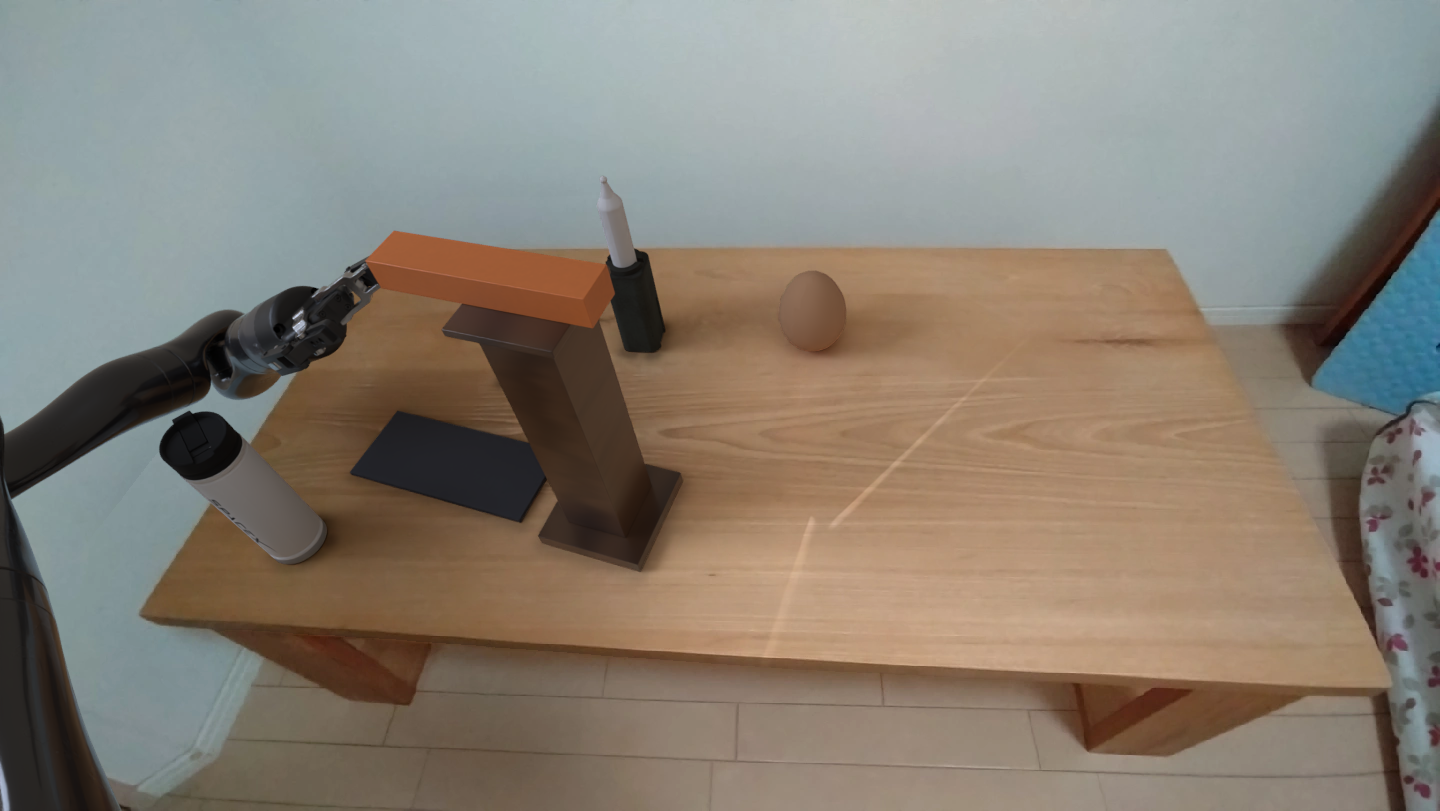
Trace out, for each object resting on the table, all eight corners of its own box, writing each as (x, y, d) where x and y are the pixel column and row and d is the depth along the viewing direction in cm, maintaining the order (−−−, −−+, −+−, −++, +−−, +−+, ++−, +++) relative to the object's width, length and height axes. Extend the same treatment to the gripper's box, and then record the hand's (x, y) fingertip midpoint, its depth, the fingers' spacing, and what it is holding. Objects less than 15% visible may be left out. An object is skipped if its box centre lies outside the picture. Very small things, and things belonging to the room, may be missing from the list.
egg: (859, 340, 98) (861, 272, 90) (815, 377, 95) (813, 310, 87) (810, 311, 103) (808, 244, 94) (767, 346, 100) (761, 279, 91)
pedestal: (683, 480, 87) (625, 259, 63) (640, 572, 81) (557, 364, 56) (589, 457, 91) (501, 240, 67) (541, 543, 84) (422, 336, 60)
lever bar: (615, 293, 61) (607, 264, 58) (593, 328, 58) (583, 299, 56) (408, 258, 67) (393, 230, 64) (381, 288, 64) (364, 260, 62)
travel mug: (315, 505, 91) (211, 396, 76) (336, 541, 87) (230, 434, 72) (264, 537, 89) (146, 431, 74) (283, 576, 85) (163, 472, 70)
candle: (659, 353, 101) (619, 190, 82) (622, 351, 102) (573, 190, 83) (667, 325, 104) (630, 162, 85) (630, 324, 105) (586, 163, 86)
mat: (562, 453, 92) (560, 450, 92) (520, 523, 86) (519, 520, 86) (399, 413, 99) (397, 410, 99) (351, 475, 93) (349, 472, 93)
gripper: (362, 310, 87) (439, 277, 76) (276, 404, 79) (349, 382, 68) (307, 259, 83) (381, 218, 72) (210, 353, 75) (278, 321, 64)
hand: (365, 297), depth 70 cm, fingers open, 8 cm apart
